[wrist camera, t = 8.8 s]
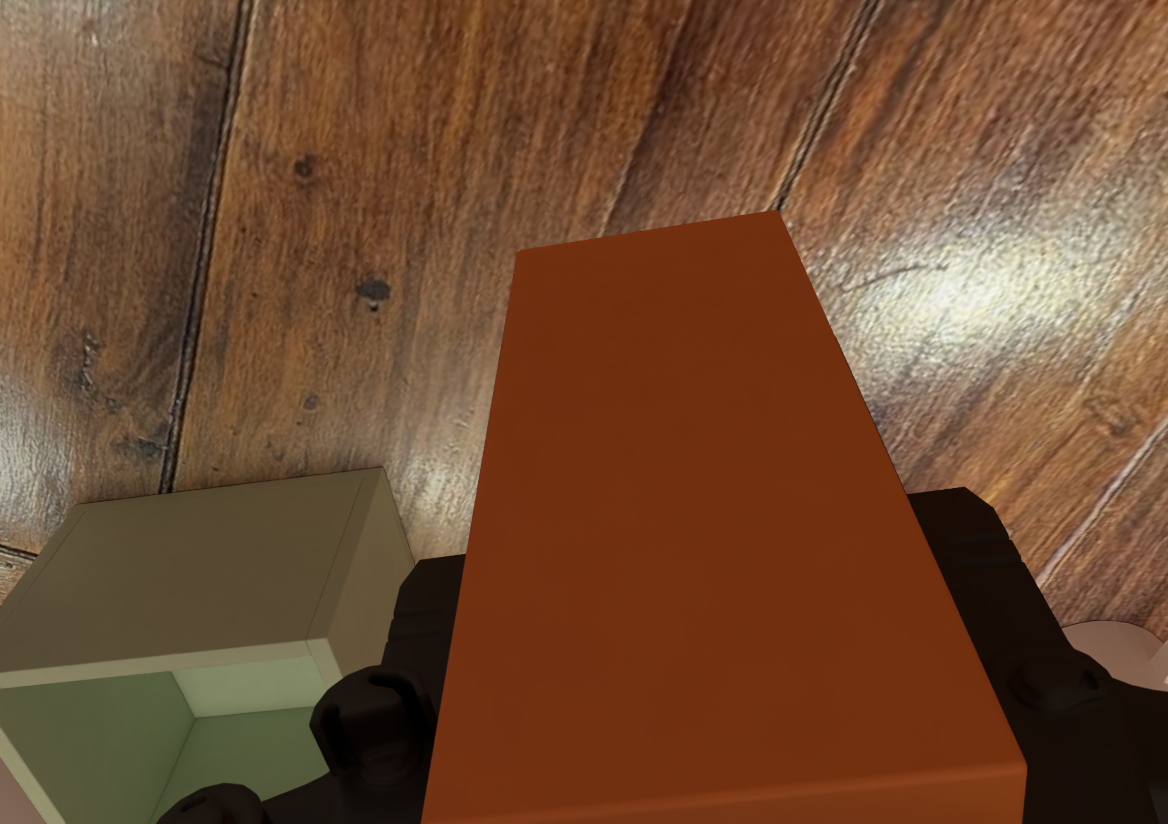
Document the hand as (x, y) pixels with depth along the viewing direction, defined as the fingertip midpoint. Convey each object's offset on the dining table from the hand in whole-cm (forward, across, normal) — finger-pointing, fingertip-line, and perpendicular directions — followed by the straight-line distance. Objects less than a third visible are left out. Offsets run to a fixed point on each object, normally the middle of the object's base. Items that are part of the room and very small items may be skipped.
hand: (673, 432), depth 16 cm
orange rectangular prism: (0, 0, 0) cm, 0 cm away
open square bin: (+22, -21, -21) cm, 37 cm away
